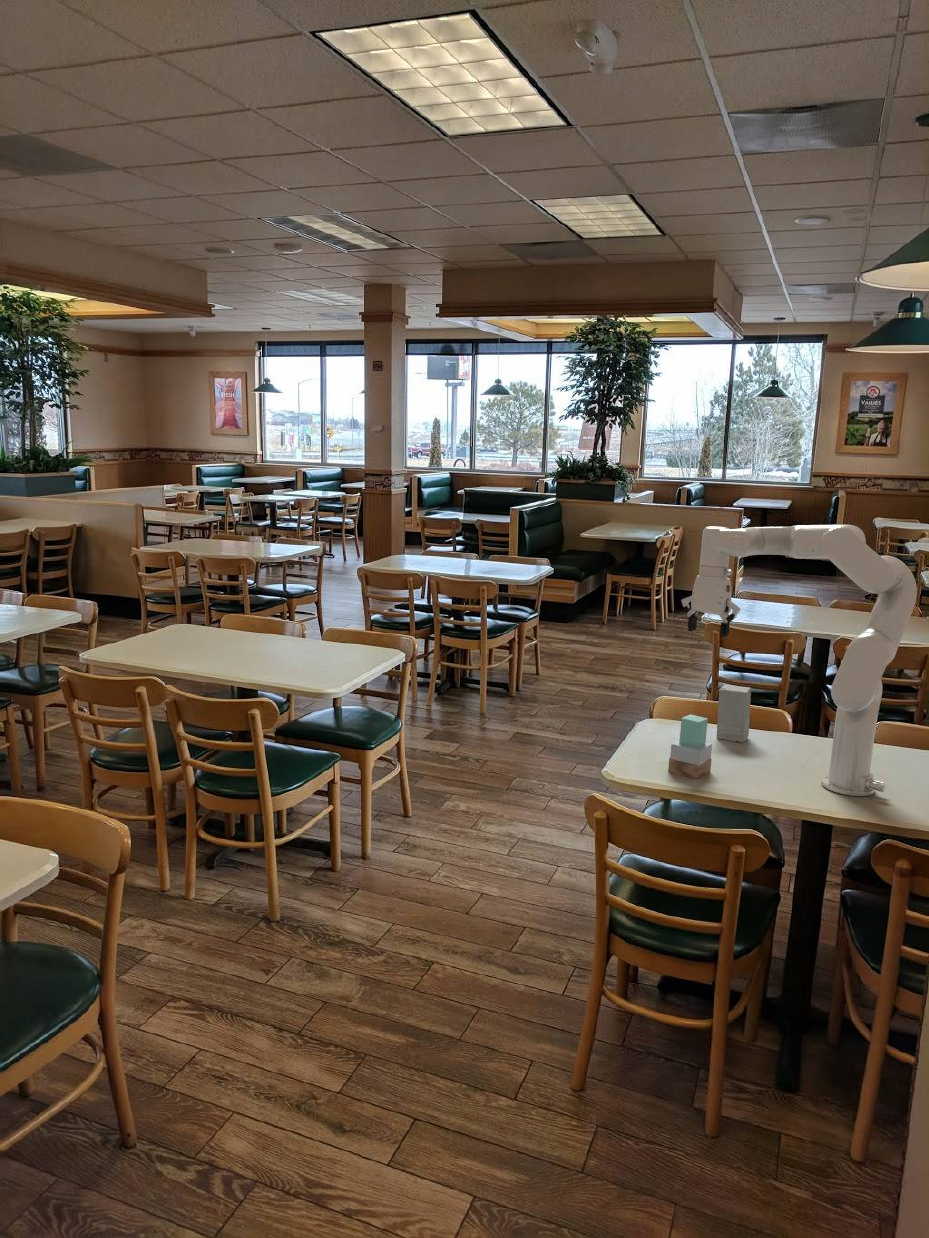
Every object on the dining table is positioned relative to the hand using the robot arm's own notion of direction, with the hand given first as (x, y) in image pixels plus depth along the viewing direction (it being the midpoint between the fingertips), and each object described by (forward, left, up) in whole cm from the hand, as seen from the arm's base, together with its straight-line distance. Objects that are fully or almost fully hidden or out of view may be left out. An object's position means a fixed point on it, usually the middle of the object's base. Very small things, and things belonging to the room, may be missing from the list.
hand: (707, 633), depth 246 cm
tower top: (-7, +16, -31) cm, 35 cm away
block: (-7, +16, -27) cm, 32 cm away
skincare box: (0, -20, -34) cm, 40 cm away
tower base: (-7, +16, -35) cm, 39 cm away
